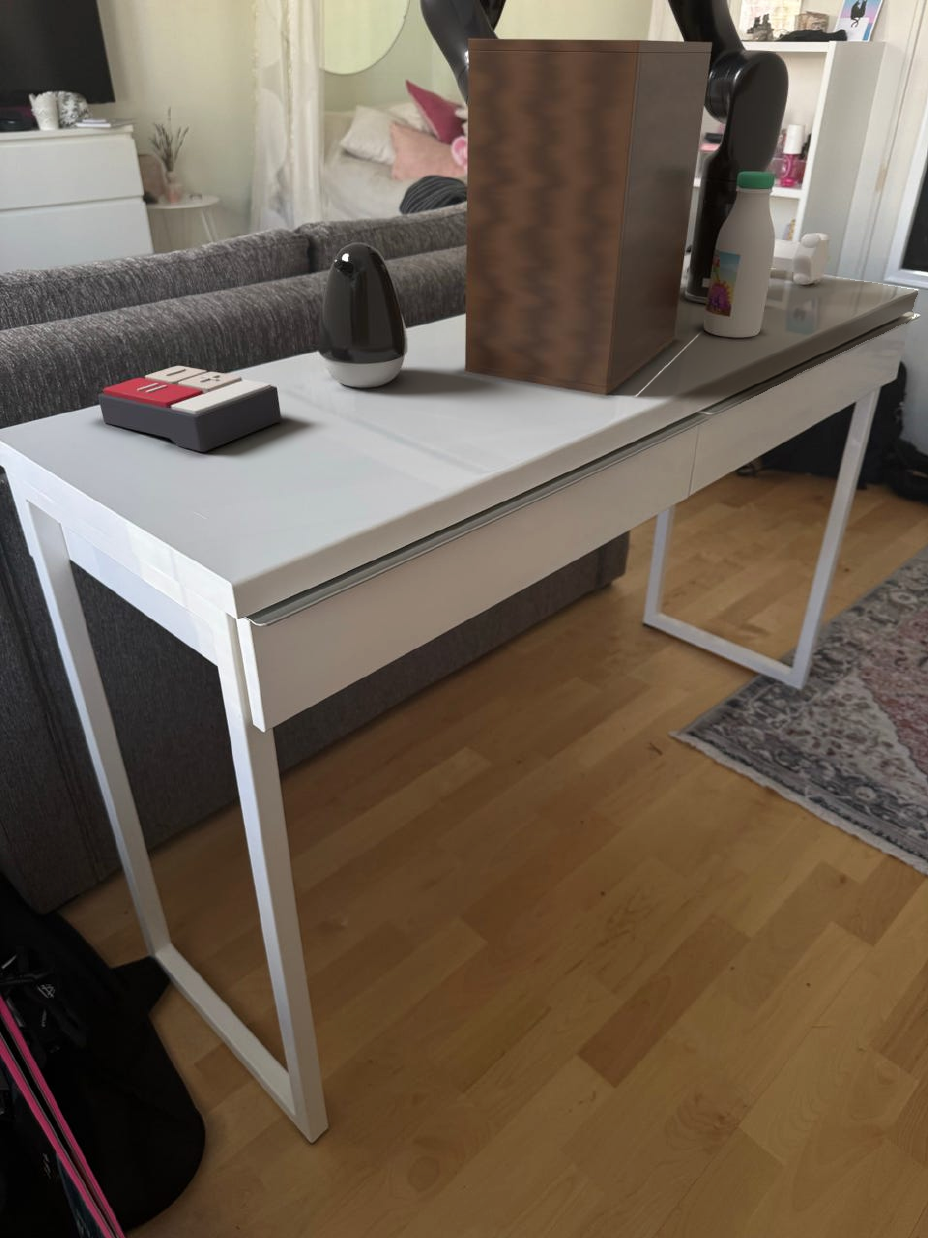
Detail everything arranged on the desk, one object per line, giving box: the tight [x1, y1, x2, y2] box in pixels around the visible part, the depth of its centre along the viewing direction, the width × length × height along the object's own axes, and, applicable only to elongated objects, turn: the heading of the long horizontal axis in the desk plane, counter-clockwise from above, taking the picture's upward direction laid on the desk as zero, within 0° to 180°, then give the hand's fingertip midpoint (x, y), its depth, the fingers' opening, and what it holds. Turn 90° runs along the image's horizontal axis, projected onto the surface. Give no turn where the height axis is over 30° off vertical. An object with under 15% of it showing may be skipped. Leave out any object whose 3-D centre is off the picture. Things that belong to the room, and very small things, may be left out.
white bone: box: [771, 232, 831, 285], centre depth 155 cm, size 15×9×8 cm, turn 47°
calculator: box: [97, 365, 282, 453], centre depth 94 cm, size 11×4×15 cm
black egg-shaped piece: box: [317, 242, 409, 389], centre depth 103 cm, size 10×10×15 cm
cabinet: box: [464, 38, 712, 396], centre depth 108 cm, size 18×26×34 cm
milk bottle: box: [703, 171, 776, 338], centre depth 123 cm, size 8×8×20 cm
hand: (561, 246), depth 108 cm, fingers closed on hair serum, 5 cm apart
